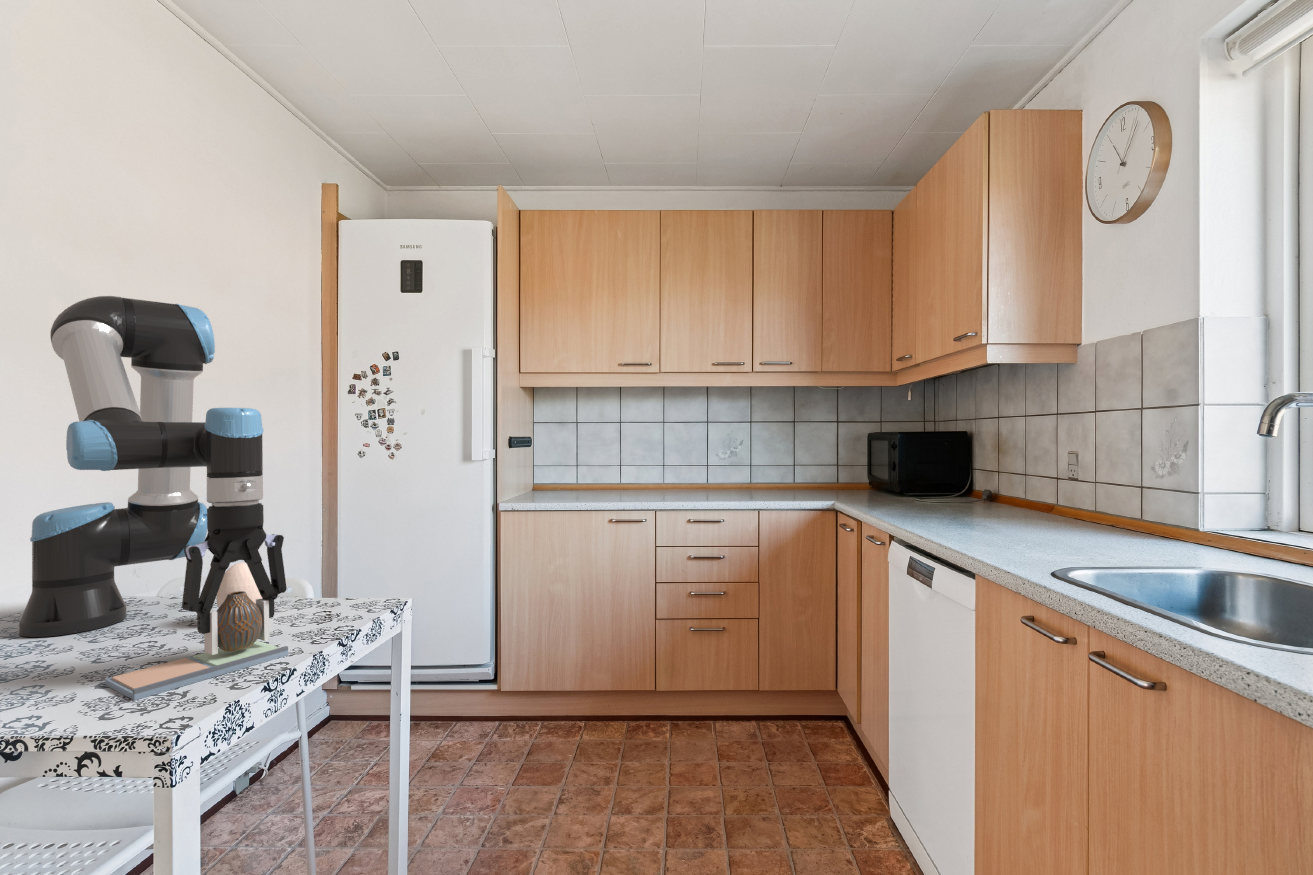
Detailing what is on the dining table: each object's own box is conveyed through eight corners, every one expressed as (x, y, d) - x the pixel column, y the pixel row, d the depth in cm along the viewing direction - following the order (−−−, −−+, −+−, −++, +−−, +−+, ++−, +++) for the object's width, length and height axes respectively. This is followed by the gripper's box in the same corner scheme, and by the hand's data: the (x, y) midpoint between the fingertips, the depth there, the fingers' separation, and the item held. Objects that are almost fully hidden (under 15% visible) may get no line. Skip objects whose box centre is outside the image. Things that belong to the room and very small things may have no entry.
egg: (273, 618, 122) (272, 561, 122) (228, 628, 115) (227, 568, 115) (253, 612, 126) (253, 557, 126) (209, 622, 119) (208, 564, 119)
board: (105, 684, 89) (104, 674, 89) (254, 644, 105) (254, 636, 105) (134, 700, 83) (134, 689, 83) (288, 655, 100) (288, 646, 100)
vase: (236, 655, 94) (235, 598, 94) (199, 653, 96) (199, 597, 96) (273, 641, 101) (272, 588, 101) (238, 639, 102) (237, 587, 102)
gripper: (172, 510, 88) (174, 669, 88) (310, 498, 105) (312, 632, 105) (151, 508, 92) (153, 660, 92) (287, 497, 109) (289, 625, 109)
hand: (237, 645), depth 98 cm, fingers closed on vase, 7 cm apart
